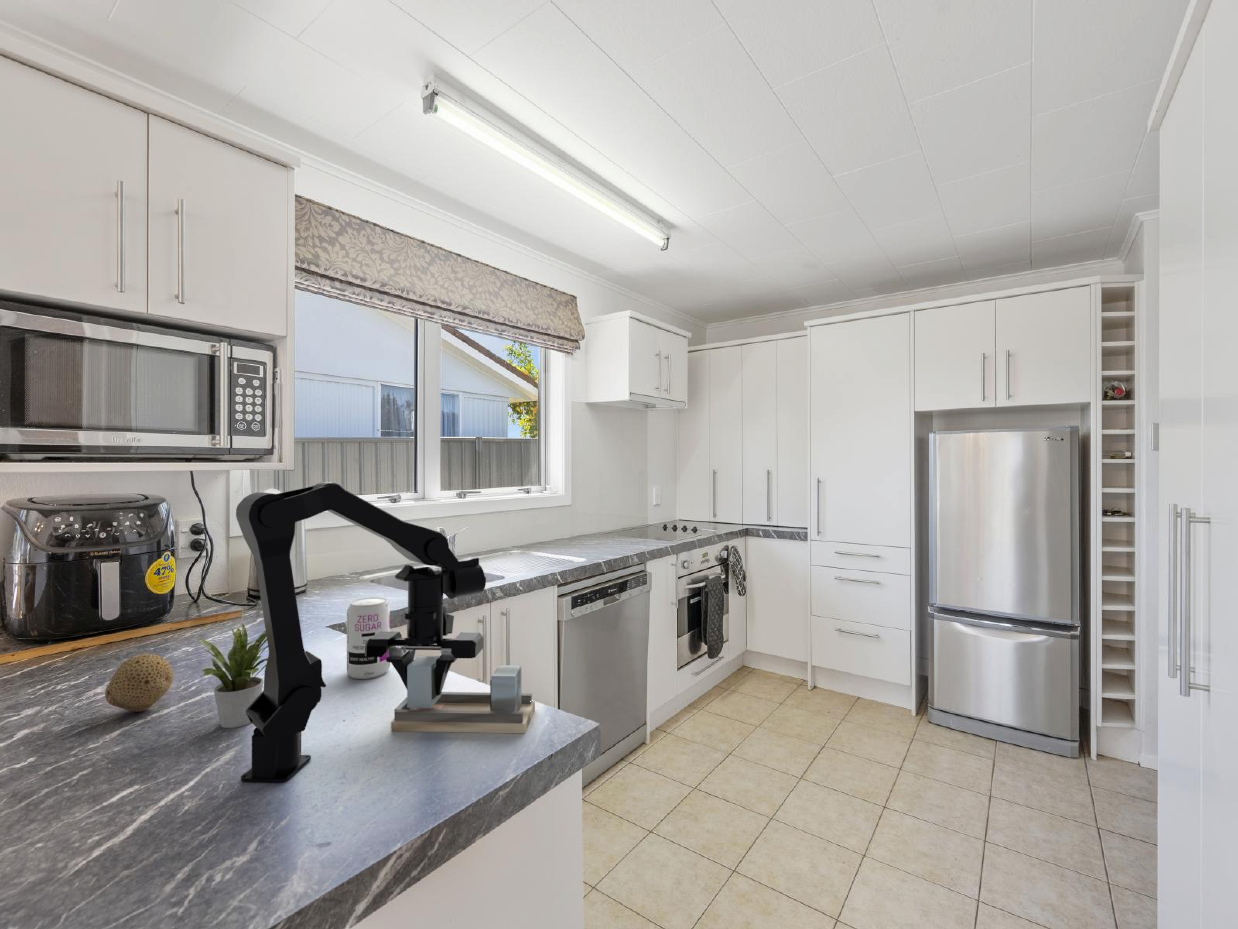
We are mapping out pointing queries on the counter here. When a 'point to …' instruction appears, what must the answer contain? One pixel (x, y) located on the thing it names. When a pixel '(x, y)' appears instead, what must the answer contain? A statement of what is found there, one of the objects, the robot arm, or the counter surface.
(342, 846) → the counter surface
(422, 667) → the block
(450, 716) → the rail plate
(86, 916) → the counter surface
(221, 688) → the house plant
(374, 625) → the supplement can
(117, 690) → the natural sponge
